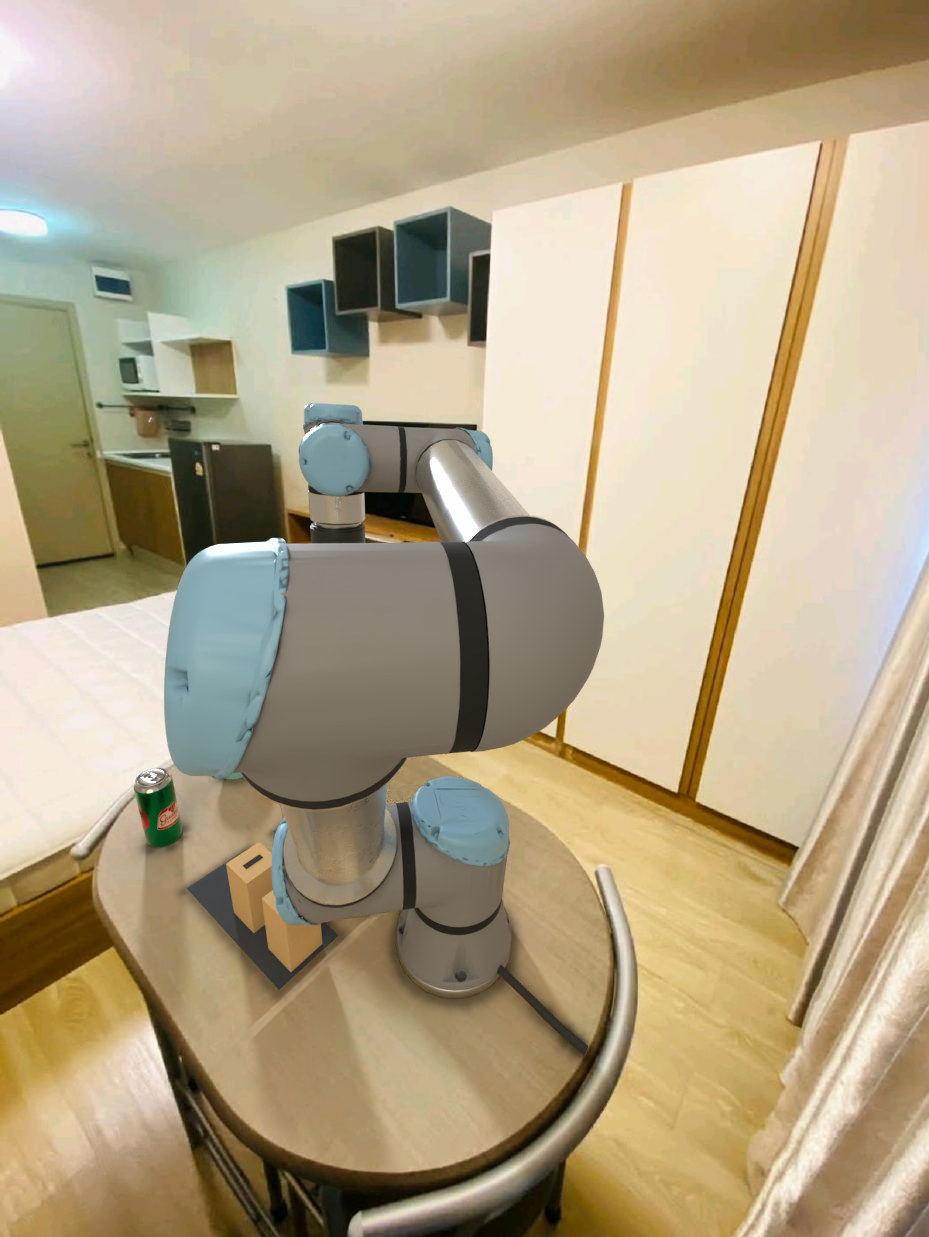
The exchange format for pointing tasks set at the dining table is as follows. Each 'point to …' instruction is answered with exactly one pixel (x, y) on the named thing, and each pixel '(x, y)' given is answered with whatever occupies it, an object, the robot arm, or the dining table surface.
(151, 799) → the soda can
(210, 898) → the left word board
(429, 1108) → the dining table surface
